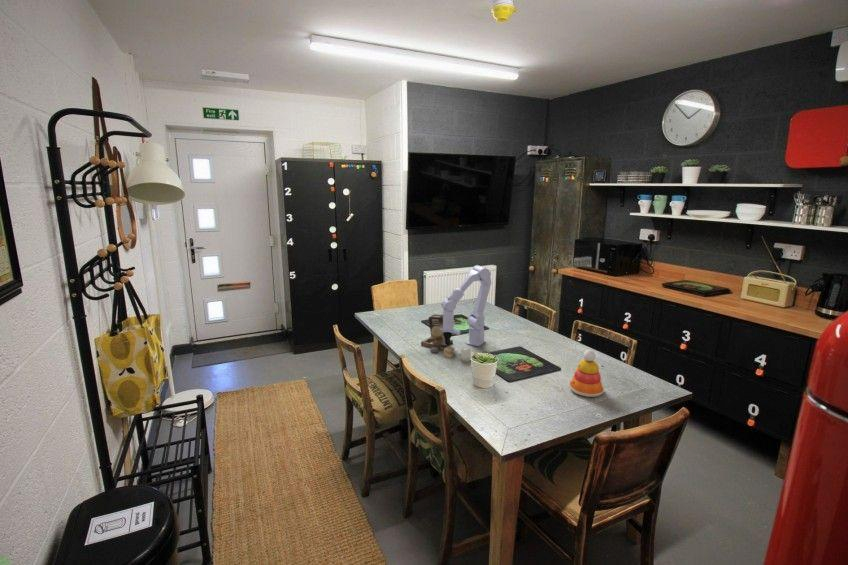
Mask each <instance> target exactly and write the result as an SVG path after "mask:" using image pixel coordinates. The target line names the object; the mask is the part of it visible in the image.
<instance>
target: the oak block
mask: <svg viewBox="0 0 848 565" xmlns="http://www.w3.org/2000/svg"><path fill="white" fill-rule="evenodd" d="M443 356H444V357H447V358H452V357H454V356H455V347H452V346H449V345H447V346H446V347H445V348H443Z"/></svg>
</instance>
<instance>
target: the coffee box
mask: <svg viewBox="0 0 848 565" xmlns="http://www.w3.org/2000/svg"><path fill="white" fill-rule="evenodd" d="M428 322H429V329H430V330H429V331H430V337H431V339H432V341H431V344H435V345H439V346H447V345H446V344H445V337H444V335H443V333H444V332H443V331H442V330H440V328H441V329H443V314H432V315H431V316H429V317H428ZM450 342H451V341H450Z"/></svg>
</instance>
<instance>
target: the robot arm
mask: <svg viewBox="0 0 848 565" xmlns="http://www.w3.org/2000/svg"><path fill="white" fill-rule="evenodd" d="M491 275H492V272H491V271H490V270H489V269H488V268H486V267H484V266H481V265H479V264H476V265H474V266H473V267H472V268H471V270H470V271H469V272H468V275H467V276H466V278H465V279H464V280H463V282H462V283H461V285H460V286H458V287H456V288H454V289H452V292H451V293H450V294H449V296H447V298H444V299H443V301H442V303H441V307H442V310H443V311H442V312H443V313H442V315H443V329H441V328H440V330H442V331H443V332H444V333H443V335H444V337H445V344H446V345H445V346H449V345H451V344H450V340H451V338H452V336H453V334H454V335H457V336H460V335H461V330H459V329H456V328H454V318H455V317H454V316H455V313H454V311H455V310H456V308H457V305H458V302H459V301H461V299H462V298H463V297H464V295H465V293H464V292H465V291H466V290H467V289H469V287H470V286H471V285H472V284H473V283H474V282H479V283H480V285H479V288H478V293H477V297H476V299H475V300H476V301H475V302H474V303H475V304H474V307H473V310H472V311H471V312H470V314H469V315H468V317H467V319H466V320H467V321H466V322H467V324H468V341H466V342H465V344H467V345H471V346H475V347H480V346H481V345H483V344H484V343H486V342H487V341H486V340H485V329H484V327H485V318H486V317H485V315H484V311H485V307H486V305H487V300H488V297H489V293H490V290H491V286H492V278H491Z"/></svg>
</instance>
